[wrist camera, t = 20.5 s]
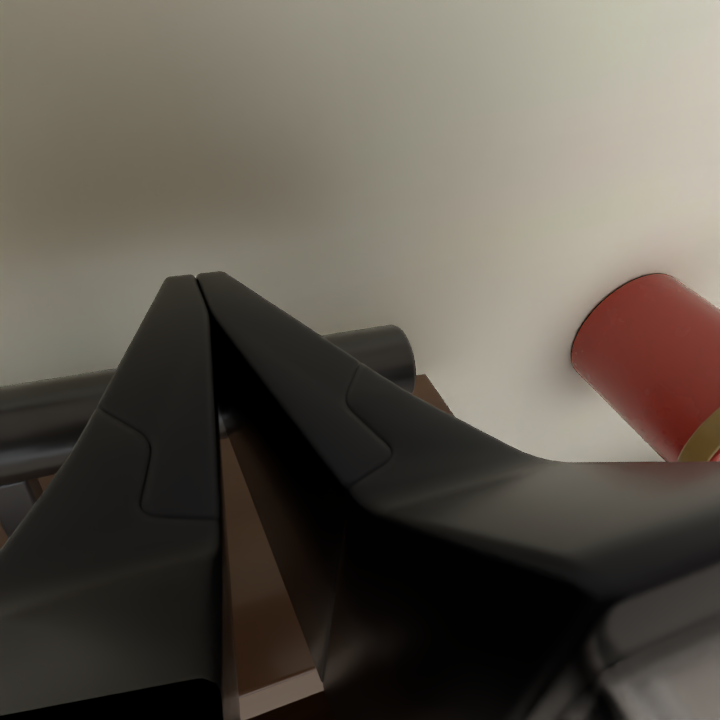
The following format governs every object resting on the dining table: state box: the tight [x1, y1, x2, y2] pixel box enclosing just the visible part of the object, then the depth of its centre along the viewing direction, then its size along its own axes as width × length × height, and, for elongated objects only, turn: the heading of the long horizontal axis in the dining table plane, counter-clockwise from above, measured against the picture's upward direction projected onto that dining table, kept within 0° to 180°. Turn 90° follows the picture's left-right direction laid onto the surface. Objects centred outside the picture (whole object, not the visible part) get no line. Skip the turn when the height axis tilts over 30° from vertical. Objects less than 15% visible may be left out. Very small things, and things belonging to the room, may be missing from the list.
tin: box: [571, 274, 720, 462], centre depth 19 cm, size 5×5×6 cm
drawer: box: [0, 325, 455, 720], centre depth 16 cm, size 20×13×7 cm, turn 174°
